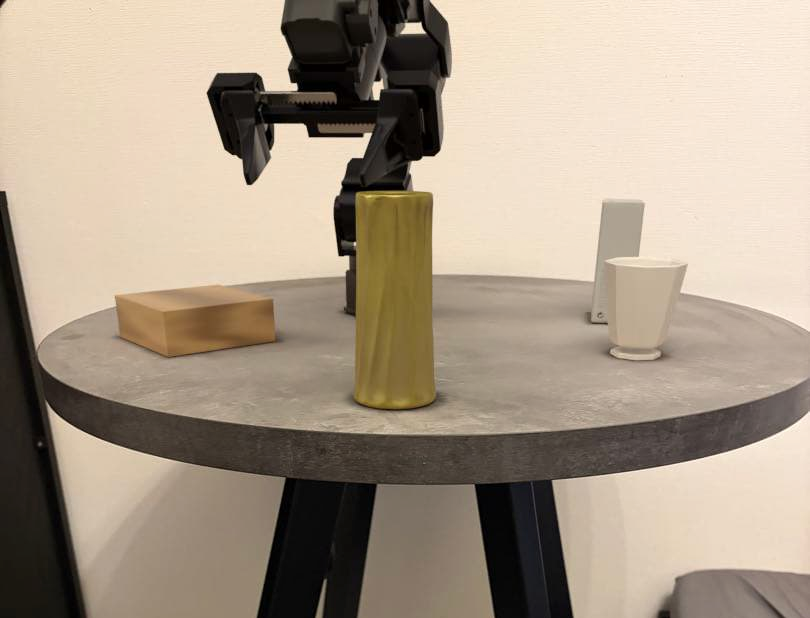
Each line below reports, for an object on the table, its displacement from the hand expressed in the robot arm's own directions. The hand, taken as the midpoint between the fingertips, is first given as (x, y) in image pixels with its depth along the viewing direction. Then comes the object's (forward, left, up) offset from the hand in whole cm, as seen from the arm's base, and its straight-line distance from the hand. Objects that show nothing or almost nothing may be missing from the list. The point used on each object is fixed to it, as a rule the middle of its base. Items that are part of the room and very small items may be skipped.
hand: (304, 180), depth 66 cm
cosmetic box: (-38, -5, -15) cm, 41 cm away
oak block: (+4, -17, -15) cm, 23 cm away
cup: (-29, +8, -15) cm, 33 cm away
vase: (-2, +11, -15) cm, 19 cm away
